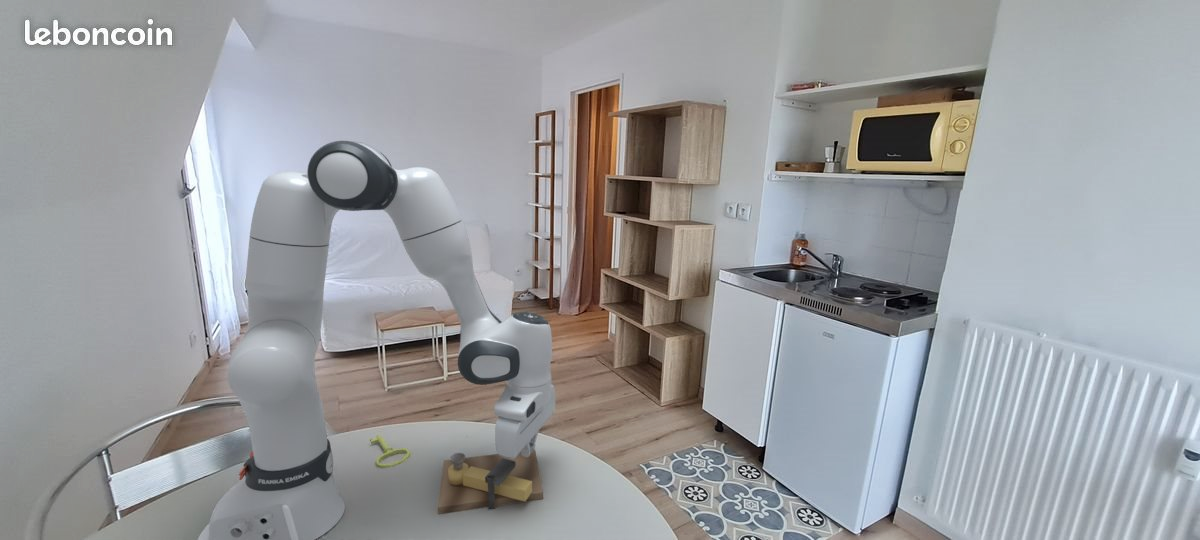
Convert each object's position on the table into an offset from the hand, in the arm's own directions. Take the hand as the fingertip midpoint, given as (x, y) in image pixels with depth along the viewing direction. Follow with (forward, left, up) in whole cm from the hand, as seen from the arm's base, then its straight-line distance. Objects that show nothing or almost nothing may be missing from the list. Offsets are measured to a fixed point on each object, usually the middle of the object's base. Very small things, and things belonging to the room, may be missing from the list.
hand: (528, 453), depth 98 cm
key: (-31, +17, -8) cm, 36 cm away
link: (-8, -2, -5) cm, 10 cm away
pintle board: (-8, +1, -7) cm, 10 cm away
